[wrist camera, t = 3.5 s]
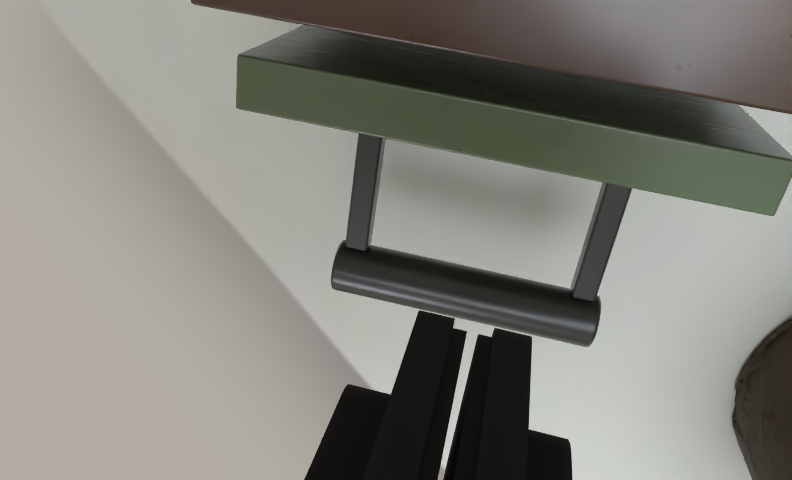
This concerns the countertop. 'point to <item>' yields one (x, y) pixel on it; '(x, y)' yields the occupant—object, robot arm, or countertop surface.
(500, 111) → the bin drawer
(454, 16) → the cabinet
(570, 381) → the countertop surface
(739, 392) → the pillar candle
